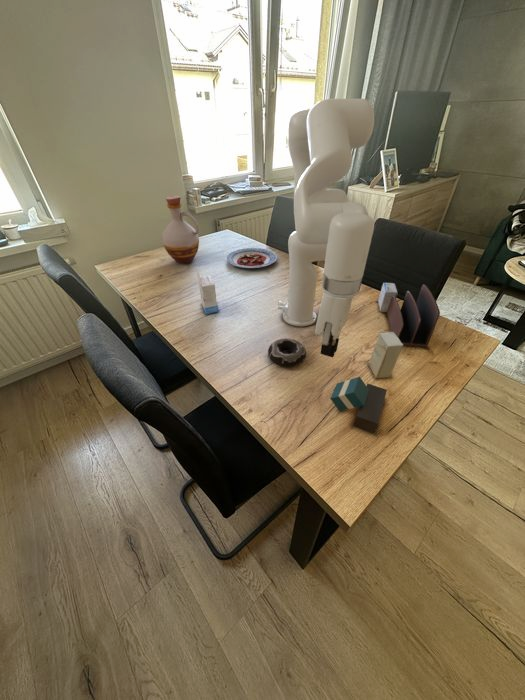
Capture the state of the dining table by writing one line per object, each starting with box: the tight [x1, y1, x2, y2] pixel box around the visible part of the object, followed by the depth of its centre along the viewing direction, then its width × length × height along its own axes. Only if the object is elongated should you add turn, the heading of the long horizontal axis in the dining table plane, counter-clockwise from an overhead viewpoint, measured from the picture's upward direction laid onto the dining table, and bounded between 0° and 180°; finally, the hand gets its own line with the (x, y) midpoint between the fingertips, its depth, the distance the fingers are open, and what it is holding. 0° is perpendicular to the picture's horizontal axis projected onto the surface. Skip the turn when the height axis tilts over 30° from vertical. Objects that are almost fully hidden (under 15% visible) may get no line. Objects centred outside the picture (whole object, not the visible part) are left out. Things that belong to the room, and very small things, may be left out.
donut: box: [267, 337, 307, 368], centre depth 89 cm, size 12×12×4 cm
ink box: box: [196, 270, 219, 315], centre depth 108 cm, size 8×5×15 cm, turn 20°
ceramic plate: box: [226, 247, 278, 269], centre depth 148 cm, size 26×26×3 cm
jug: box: [161, 195, 200, 264], centre depth 140 cm, size 20×18×30 cm
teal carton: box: [329, 376, 369, 412], centre depth 73 cm, size 8×6×8 cm
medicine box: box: [377, 282, 398, 313], centre depth 110 cm, size 8×4×9 cm, turn 168°
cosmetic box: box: [368, 331, 404, 379], centre depth 81 cm, size 6×4×12 cm
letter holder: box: [386, 284, 441, 348], centre depth 97 cm, size 10×20×14 cm, turn 169°
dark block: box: [352, 382, 388, 435], centre depth 72 cm, size 5×12×4 cm, turn 152°
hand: (328, 352), depth 68 cm, fingers closed
